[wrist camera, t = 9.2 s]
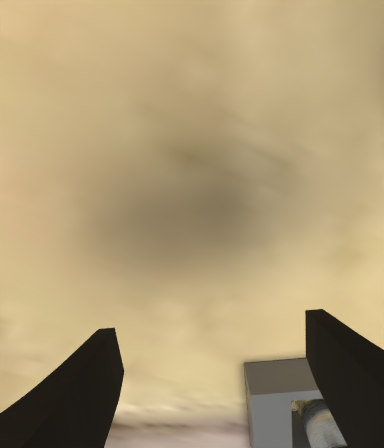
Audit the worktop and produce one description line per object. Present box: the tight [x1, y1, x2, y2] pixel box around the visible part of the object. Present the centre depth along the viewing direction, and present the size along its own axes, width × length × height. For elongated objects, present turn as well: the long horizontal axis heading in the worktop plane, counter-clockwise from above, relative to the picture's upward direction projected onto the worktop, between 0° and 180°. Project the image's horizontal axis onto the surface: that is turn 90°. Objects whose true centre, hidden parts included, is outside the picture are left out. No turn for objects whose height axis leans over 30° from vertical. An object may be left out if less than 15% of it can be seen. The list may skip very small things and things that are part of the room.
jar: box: [295, 399, 348, 448], centre depth 21 cm, size 3×3×7 cm
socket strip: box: [244, 358, 323, 448], centre depth 24 cm, size 10×12×3 cm
